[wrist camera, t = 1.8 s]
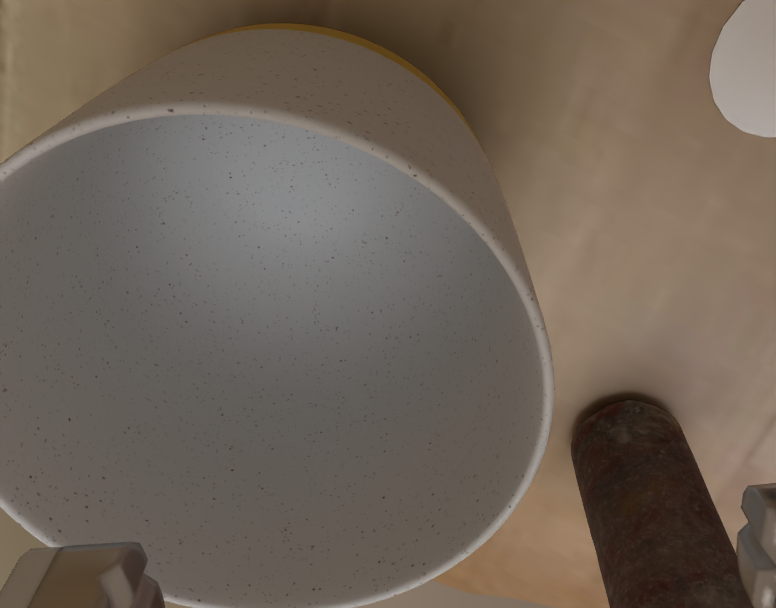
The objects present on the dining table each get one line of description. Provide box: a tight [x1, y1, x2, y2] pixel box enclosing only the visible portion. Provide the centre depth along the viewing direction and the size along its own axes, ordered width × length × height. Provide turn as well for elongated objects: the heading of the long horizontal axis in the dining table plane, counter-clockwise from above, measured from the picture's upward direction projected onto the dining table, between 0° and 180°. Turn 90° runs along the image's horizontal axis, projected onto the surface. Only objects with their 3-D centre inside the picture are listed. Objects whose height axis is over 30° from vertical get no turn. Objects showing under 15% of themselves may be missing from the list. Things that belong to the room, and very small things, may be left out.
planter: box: [0, 23, 555, 608], centre depth 32 cm, size 20×20×21 cm
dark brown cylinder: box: [571, 400, 755, 608], centre depth 42 cm, size 8×7×20 cm
